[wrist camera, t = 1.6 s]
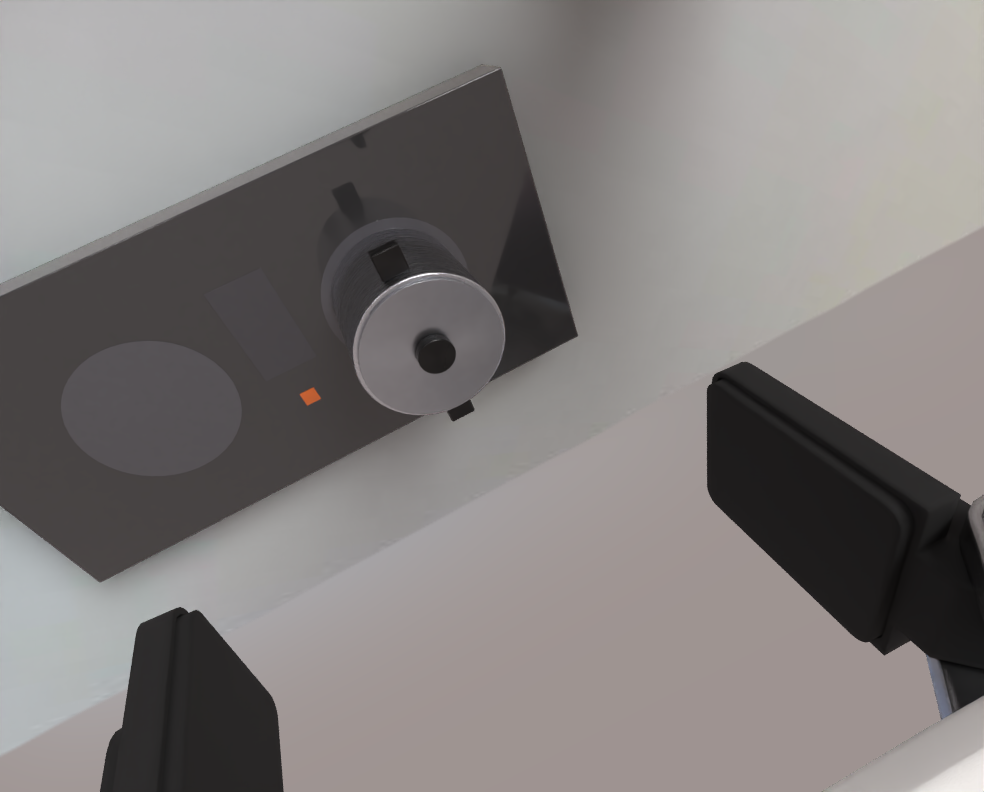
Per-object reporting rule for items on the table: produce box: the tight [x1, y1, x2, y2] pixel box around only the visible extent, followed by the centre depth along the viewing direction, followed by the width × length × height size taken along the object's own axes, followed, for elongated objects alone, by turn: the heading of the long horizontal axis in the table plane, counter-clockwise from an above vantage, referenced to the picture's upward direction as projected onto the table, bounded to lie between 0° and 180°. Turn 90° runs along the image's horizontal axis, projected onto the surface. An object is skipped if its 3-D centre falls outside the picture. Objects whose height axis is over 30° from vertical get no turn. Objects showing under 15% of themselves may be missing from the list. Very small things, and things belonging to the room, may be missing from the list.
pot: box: [332, 229, 505, 421], centre depth 27 cm, size 7×9×7 cm
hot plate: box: [0, 64, 578, 582], centre depth 30 cm, size 30×15×2 cm, turn 109°
